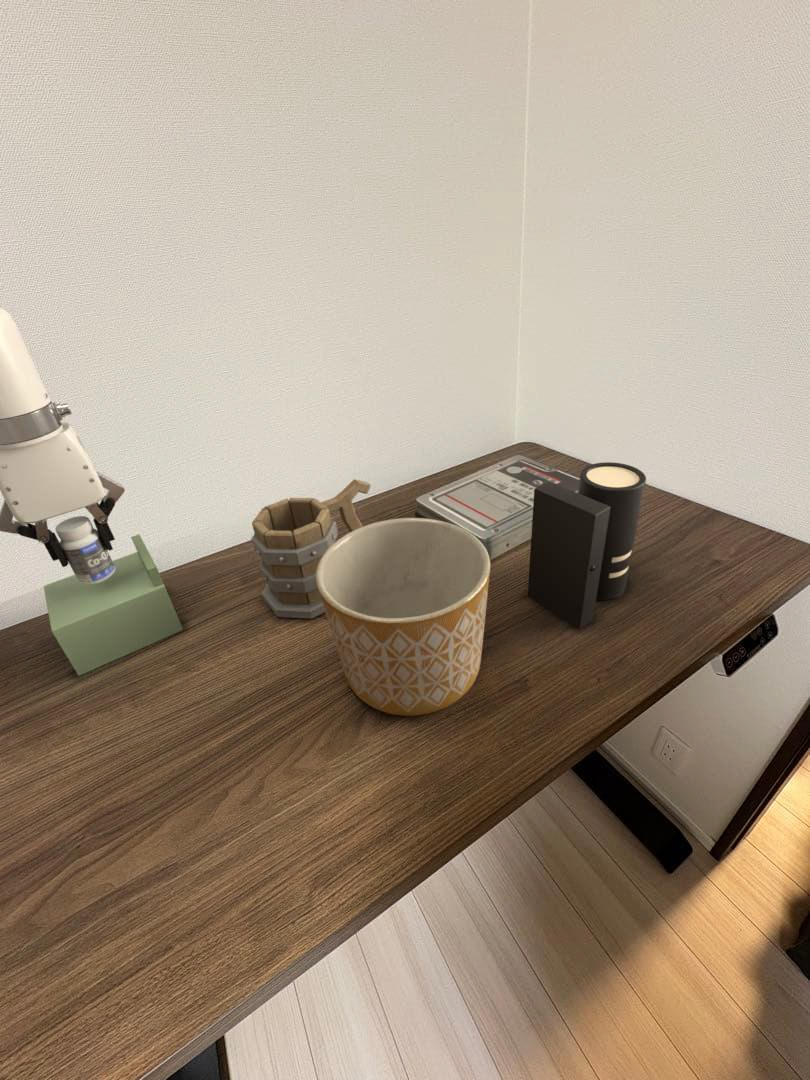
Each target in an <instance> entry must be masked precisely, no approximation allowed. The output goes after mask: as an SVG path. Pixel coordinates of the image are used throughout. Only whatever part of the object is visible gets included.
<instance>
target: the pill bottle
mask: <svg viewBox="0 0 810 1080" xmlns="http://www.w3.org/2000/svg"><path fill="white" fill-rule="evenodd" d="M54 529H55V532H56V534H57V536H58V538H59V539H60V540H59V542H60V547H61V549H62V551H63V553H64V555H65V556H66V558H67V560H68V565H69V566H70V568H71V570H72V572H73V575H76V577H77V579H78V581H79V582H80V583H81V584H85V585H92V584H97V583H100V582H102V581H104V580H106V579H108V578H109V577H110V576H111V575H112V574H113V573H114V572H115V566H114V564H113V562H112V561H113V559H112V557H111V555H110V552H109V550H107V549H106V547H105V545H104V543H103V541H102V539H101V537H100V534H99V532H98V530H97V528H94V526H93V523H92V521H91V520H90V518H89V517H88V516H85V515H78V516H73V517H70V518H67V519H65V520H62V521H60V522H59V523H58V524H57V525H56V526H55V528H54Z"/></svg>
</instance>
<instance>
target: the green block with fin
mask: <svg viewBox="0 0 810 1080" xmlns="http://www.w3.org/2000/svg"><path fill="white" fill-rule="evenodd" d="M130 538H131V540H132V543H133V545H134V548H135V549H136V552H133V553H130V554H128V555H125V556H122V557H119V558H116V559H114V560H112V562H113V564H114V566H115V572H114V573H113V574H112V575H111V576H110V577H109V578H108V579H106V580H104V581H102V582H100V583H97V584H92V585H85V584H81V583H80V582H79V581H78V579H77V577H76V575H75V574H73V575H70V576H67V577H64V578H62V579H58V580H56V581H54V582H50V583H48V584H45V585H43V593H44V597H45V602H46V609H47V614H48V617H49V618H48V619H49V624H50V629H51V633H52V634H53V636H54V638H55V640H56V641H57V643H58V644H59V646H60V648H61V649H62V651H63V652H64V655H65V656H66V658H67V659H68V661H69V663H70V664H71V666H72V668H73V670H74V671H75V673H76V674H77V676H78V677H80V676H82V675H84V674H86V673H89V672H91V671H94V670H96V669H98V668H100V667H102V666H105V665H107V664H110V663H112V662H114V661H116V660H119V659H120V658H122V657H125V656H127V655H129V654H132V653H134V652H136V651H138V650H141V649H143V648H145V647H147V646H150V645H152V644H154V643H157V642H159V641H161V640H163V639H166V638H168V637H170V636H173V635H175V634H177V633H179V632H182V631H183V630H184V628H183V626H182V624H181V621H180V619H179V617H178V614H177V612H176V609H175V607H174V604H173V602H172V600H171V597H170V595H169V593H168V590H167V588H166V585H165V584H164V581H163V578H162V577H161V574H160V572H159V569H158V566H157V565H156V563H155V561H154V558H153V557H152V556H151V554H150V552H149V550H148V548H147V546H146V544H145V542H144V540H143V538H142V537H141V534H135V535H133V536H131V537H130Z"/></svg>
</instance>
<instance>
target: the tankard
mask: <svg viewBox="0 0 810 1080" xmlns="http://www.w3.org/2000/svg"><path fill="white" fill-rule="evenodd" d="M371 485H372V484H371V483H370V482H368V481H365V480H359V479H356V478H354V479H352V481H351V482H350V483H348V484H347V486H346V487H345V488H343V489H342V490H341V491H339V492H338V493H337V495H336V496H334V497H331V498H329V499H326V500H324V501H320V500H318V499H317V498H315V497H289V499H288V498H285V499H281V500H279V501H277V502H273V503H270V504H268V505H266V506H264V507H262V508H261V510H260V511H259V513H258V514H257V515H256V516H255V518H254V519H253V520H252V522H251V527H252V529H253V532H254V534H253V535H252V537H251V538H250V540H251V543H252V546H253V550H254V551H255V553H256V554H257V555H258V556H259V557H260V558H261V563H260V564H259V566H258V567H259V571H260V574H261V577H262V579H263V580H264V581H265V582H266V585H265V587H264V589H263V590H262V591H261V596H262V599H263V601H264V602H265V604H267V606H268V607H269V608H270V609H271V610H272V612H273V613H274V614H275V615H276V617H277V618H288V619H289V618H294V619H309V620H310V619H311V620H312V619H314V618H316V617H318V616H320V615H322V614H325V613H326V612H325V609H324V606H323V603H322V599H321V596H320V593H319V590H318V587H317V583H316V570H317V566H318V564H319V561H320V559H321V558H322V556H323V554H324V553H325V552H326V551H327V550H328V548H329V547H330V546H331V545H333V544H334V543H335V542H336V541H337V538H338V535H339V532H338V525H337V522H336V521H335V520H333V518H331V513H332V512H334V511H336V510H338V511H339V515H340V519H341V520H342V522H343V524H344V525H345V526H346V528H347V529H348V531H349V533H350V532H352V531H354V530H356V529H359V528H361V527H364V526H363V524H362V523H361V521H360V519H359V518H358V516H357V514H356V511H355V507H354V504H353V499H355V497H356V496H357V495H358V494H359V493H360V494H365V495H367V494H368V493H369V491H370V488H371Z"/></svg>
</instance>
